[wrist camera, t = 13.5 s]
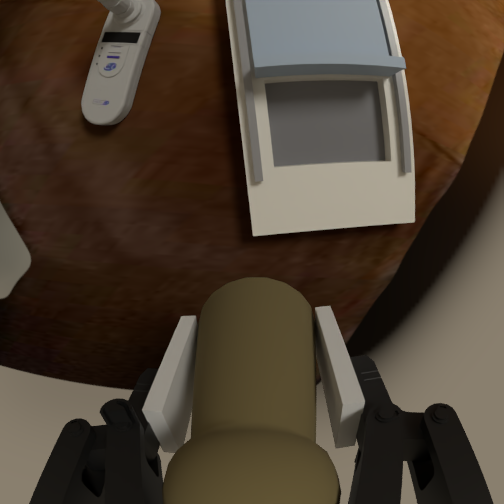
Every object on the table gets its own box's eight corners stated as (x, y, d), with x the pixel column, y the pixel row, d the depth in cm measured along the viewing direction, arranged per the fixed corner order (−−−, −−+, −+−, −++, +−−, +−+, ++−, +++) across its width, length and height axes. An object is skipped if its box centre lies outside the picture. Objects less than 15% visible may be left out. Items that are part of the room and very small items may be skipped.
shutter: (243, -12, 20) (241, -30, 17) (370, -10, 19) (382, -26, 16) (255, 78, 23) (254, 67, 20) (389, 76, 23) (406, 68, 19)
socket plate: (225, -10, 22) (221, -25, 19) (374, -11, 21) (384, -23, 18) (253, 229, 30) (252, 238, 27) (404, 216, 29) (418, 224, 26)
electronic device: (32, 122, 18) (84, -34, 13) (88, 122, 28) (126, 0, 22) (78, 128, 19) (136, -40, 14) (129, 128, 28) (168, 1, 23)
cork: (176, 328, 16) (103, 518, 5) (255, 251, 14) (241, 487, 4) (257, 387, 17) (252, 564, 7) (338, 327, 15) (400, 523, 5)
